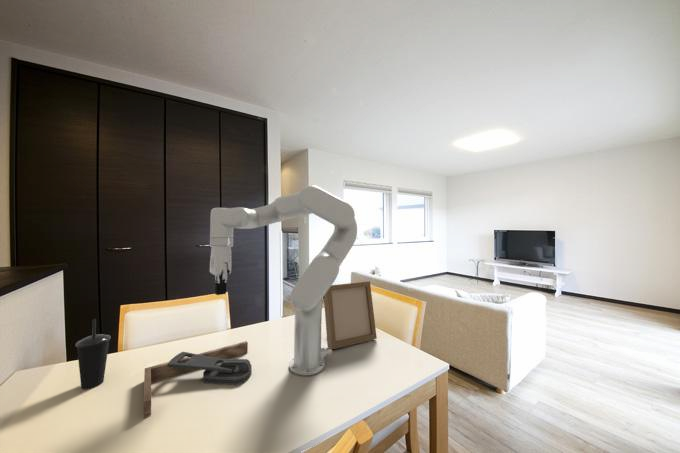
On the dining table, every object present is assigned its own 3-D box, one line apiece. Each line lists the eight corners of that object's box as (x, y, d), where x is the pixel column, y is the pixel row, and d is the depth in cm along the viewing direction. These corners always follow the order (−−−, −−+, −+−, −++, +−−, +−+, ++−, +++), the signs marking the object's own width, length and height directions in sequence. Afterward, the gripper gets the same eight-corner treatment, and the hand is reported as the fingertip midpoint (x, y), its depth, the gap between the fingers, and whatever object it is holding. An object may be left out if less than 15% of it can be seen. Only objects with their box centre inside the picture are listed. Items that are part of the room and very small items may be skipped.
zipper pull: (181, 350, 84) (255, 349, 85) (181, 369, 84) (254, 369, 85) (163, 364, 75) (246, 364, 76) (163, 386, 75) (245, 385, 76)
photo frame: (376, 340, 107) (377, 283, 107) (332, 351, 97) (332, 288, 97) (358, 328, 120) (359, 277, 120) (317, 337, 110) (318, 281, 110)
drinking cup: (68, 395, 70) (70, 325, 70) (81, 380, 77) (83, 317, 77) (104, 388, 73) (105, 321, 74) (113, 374, 80) (114, 313, 81)
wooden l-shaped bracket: (246, 351, 96) (246, 341, 96) (264, 373, 82) (264, 361, 82) (144, 381, 77) (144, 368, 77) (143, 417, 62) (143, 402, 62)
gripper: (205, 241, 90) (203, 291, 90) (216, 243, 79) (214, 300, 79) (226, 241, 95) (225, 288, 95) (239, 243, 84) (238, 296, 84)
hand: (220, 293), depth 87 cm, fingers closed
